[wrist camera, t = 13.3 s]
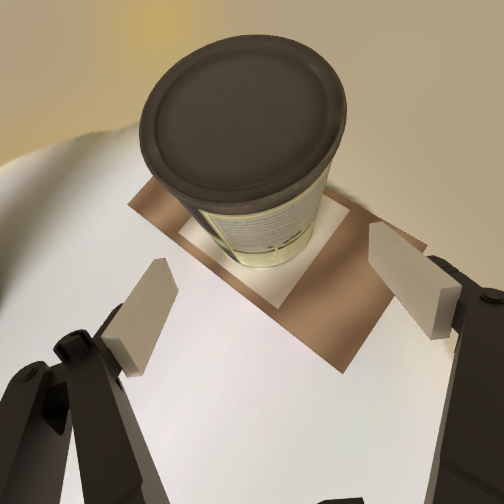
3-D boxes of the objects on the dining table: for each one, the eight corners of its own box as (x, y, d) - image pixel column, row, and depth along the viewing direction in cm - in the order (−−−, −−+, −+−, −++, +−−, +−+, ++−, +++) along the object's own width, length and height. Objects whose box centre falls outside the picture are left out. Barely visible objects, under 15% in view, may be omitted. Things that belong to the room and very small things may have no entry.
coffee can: (197, 248, 26) (99, 166, 12) (239, 166, 28) (195, 19, 14) (291, 289, 23) (296, 241, 10) (330, 195, 26) (378, 52, 12)
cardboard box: (159, 228, 36) (125, 203, 29) (220, 157, 38) (204, 116, 30) (328, 361, 28) (343, 375, 21) (394, 263, 30) (429, 244, 23)
